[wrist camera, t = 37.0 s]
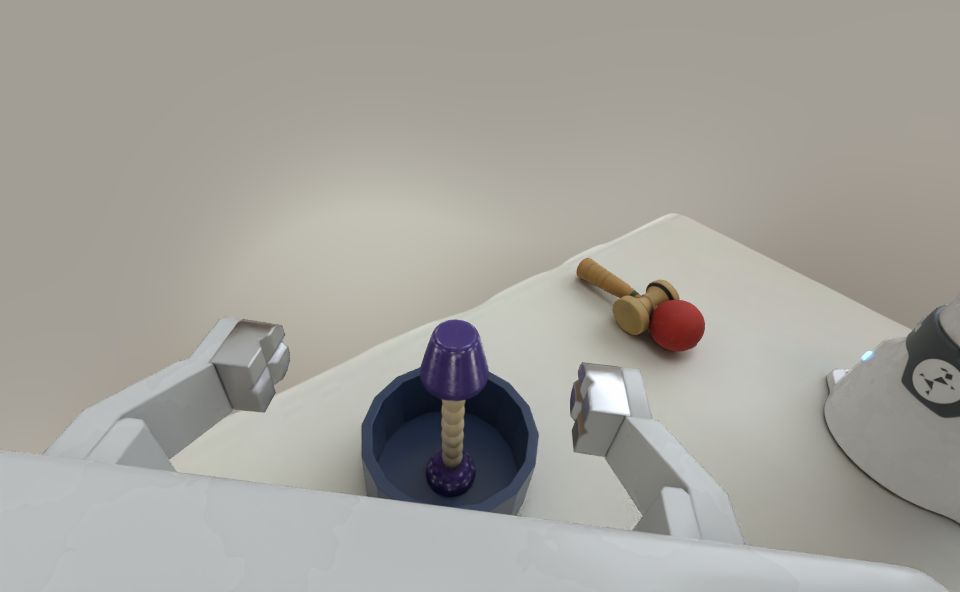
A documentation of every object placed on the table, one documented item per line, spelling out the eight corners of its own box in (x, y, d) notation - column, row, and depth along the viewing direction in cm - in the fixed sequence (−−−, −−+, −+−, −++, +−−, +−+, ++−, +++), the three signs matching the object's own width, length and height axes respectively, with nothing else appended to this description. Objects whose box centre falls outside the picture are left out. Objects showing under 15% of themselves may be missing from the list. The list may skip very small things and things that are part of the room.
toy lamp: (420, 499, 37) (421, 362, 26) (418, 448, 41) (419, 309, 30) (478, 494, 38) (502, 359, 27) (471, 444, 41) (491, 307, 31)
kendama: (556, 294, 62) (669, 368, 50) (568, 251, 59) (690, 319, 47) (594, 286, 67) (706, 353, 54) (606, 246, 64) (727, 307, 51)
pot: (504, 400, 46) (513, 357, 42) (544, 540, 36) (561, 501, 32) (366, 415, 43) (361, 370, 39) (368, 571, 33) (361, 533, 29)
